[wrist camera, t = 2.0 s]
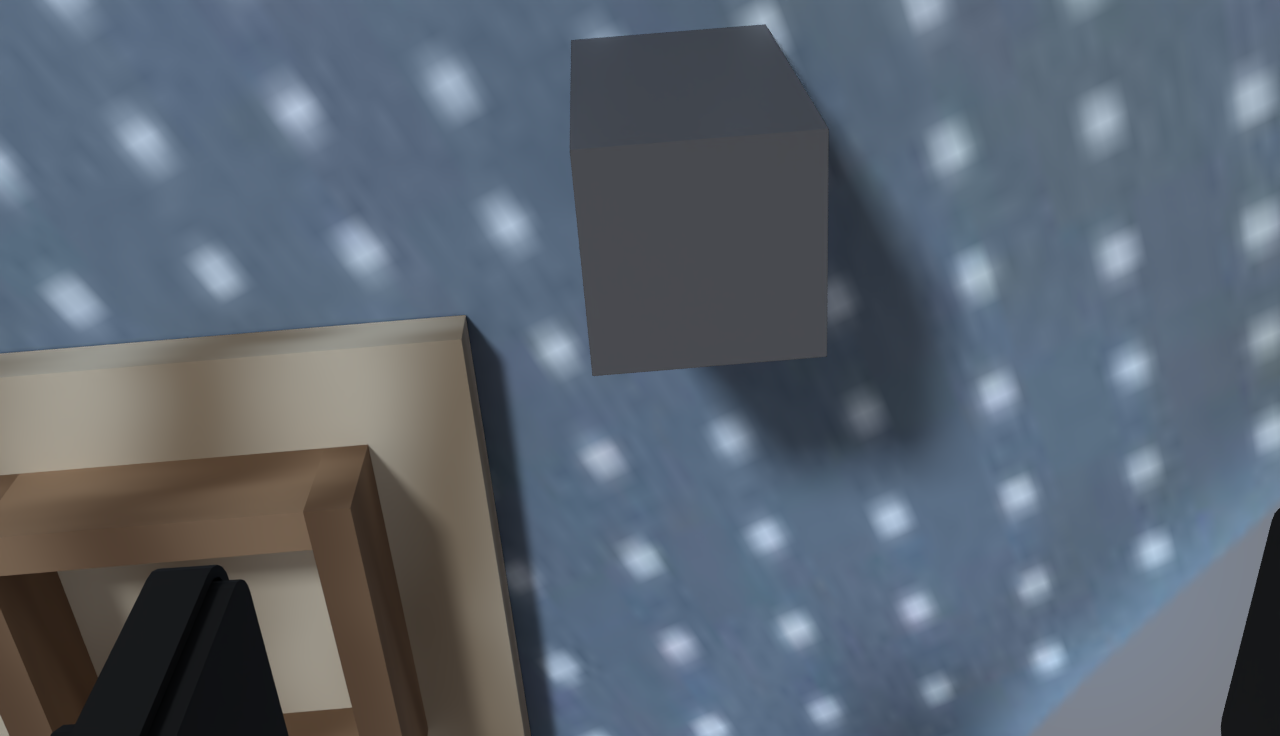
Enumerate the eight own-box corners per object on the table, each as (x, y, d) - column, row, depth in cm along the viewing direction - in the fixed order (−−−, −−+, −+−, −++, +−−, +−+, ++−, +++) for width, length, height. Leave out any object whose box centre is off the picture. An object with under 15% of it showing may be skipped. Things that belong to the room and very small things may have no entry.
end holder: (465, 315, 27) (450, 396, 24) (533, 754, 34) (529, 863, 31) (-149, 365, 27) (-246, 454, 24) (42, 796, 34) (-14, 910, 31)
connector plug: (765, 24, 25) (828, 128, 18) (768, 206, 26) (826, 356, 20) (571, 39, 25) (569, 149, 18) (588, 221, 26) (592, 375, 20)
